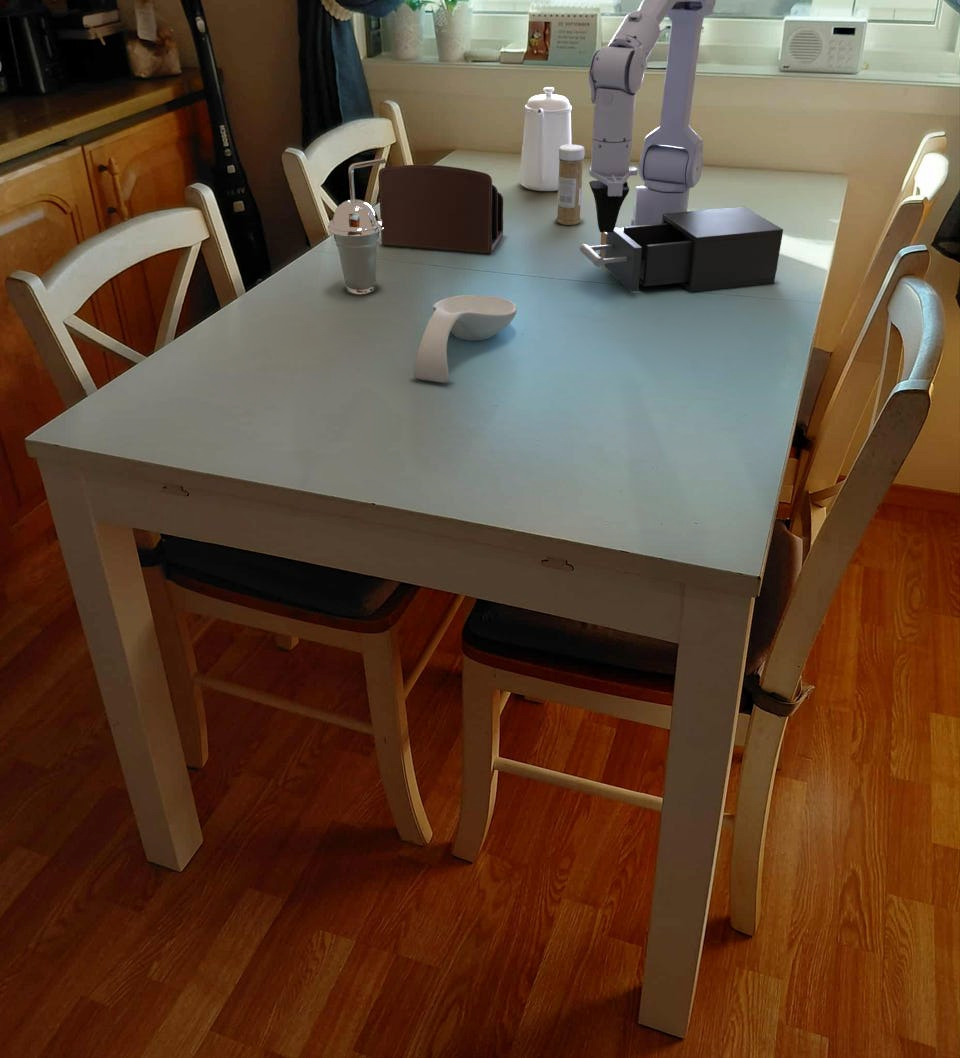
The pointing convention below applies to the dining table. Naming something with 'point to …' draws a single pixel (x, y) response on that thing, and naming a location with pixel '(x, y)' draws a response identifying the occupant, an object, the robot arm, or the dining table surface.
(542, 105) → the coffeepot
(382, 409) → the dining table surface
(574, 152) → the spice jar
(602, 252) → the block
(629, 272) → the dark grey drawer
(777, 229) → the black drawer cabinet
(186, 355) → the dining table surface
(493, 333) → the spoon rest
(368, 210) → the cup with straw
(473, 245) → the letter holder
